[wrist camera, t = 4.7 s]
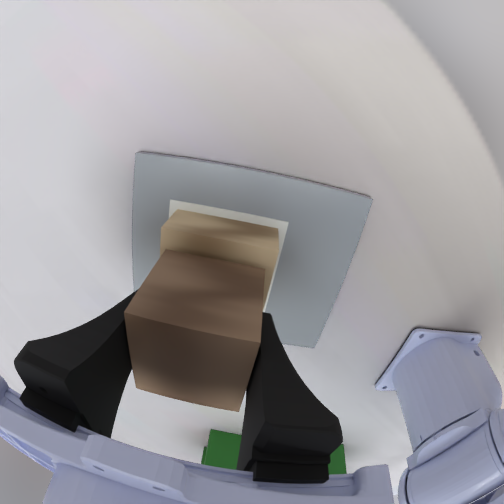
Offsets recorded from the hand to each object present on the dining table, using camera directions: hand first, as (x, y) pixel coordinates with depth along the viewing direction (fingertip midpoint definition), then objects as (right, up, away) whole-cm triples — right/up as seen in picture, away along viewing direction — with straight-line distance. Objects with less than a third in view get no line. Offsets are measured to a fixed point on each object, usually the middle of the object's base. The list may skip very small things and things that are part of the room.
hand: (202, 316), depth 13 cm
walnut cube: (0, +1, +2) cm, 2 cm away
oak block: (0, +2, +5) cm, 5 cm away
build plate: (+1, +2, +5) cm, 6 cm away
